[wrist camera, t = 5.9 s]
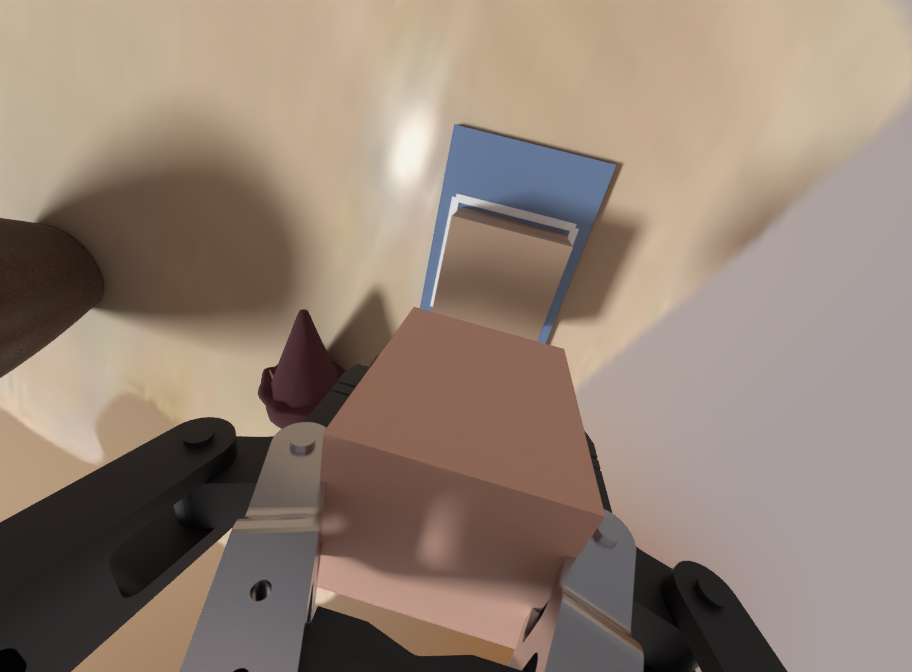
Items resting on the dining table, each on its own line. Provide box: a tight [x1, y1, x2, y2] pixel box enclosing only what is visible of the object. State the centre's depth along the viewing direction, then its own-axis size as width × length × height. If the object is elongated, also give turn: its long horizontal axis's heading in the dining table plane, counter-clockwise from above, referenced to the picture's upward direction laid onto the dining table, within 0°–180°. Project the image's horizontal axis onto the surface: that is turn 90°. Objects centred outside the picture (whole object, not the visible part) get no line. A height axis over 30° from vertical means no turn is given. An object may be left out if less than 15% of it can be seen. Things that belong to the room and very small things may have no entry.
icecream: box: [258, 310, 345, 429], centre depth 29 cm, size 7×7×15 cm
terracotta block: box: [317, 307, 605, 649], centre depth 10 cm, size 5×5×6 cm
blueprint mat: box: [420, 124, 616, 344], centre depth 24 cm, size 14×10×1 cm
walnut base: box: [432, 207, 573, 341], centre depth 23 cm, size 7×7×4 cm
